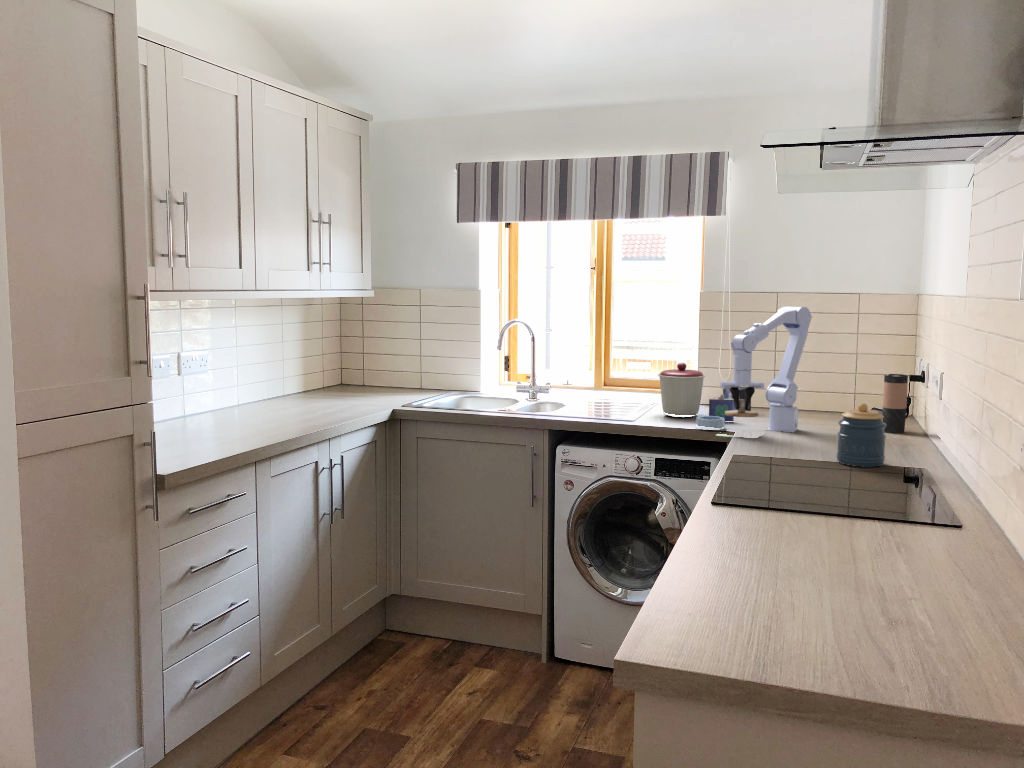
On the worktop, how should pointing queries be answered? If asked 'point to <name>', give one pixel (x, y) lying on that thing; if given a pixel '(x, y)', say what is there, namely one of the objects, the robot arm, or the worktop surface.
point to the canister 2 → (861, 437)
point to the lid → (741, 411)
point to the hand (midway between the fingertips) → (741, 409)
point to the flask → (721, 407)
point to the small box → (728, 395)
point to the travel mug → (895, 402)
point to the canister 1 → (681, 390)
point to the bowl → (710, 421)
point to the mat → (724, 435)
